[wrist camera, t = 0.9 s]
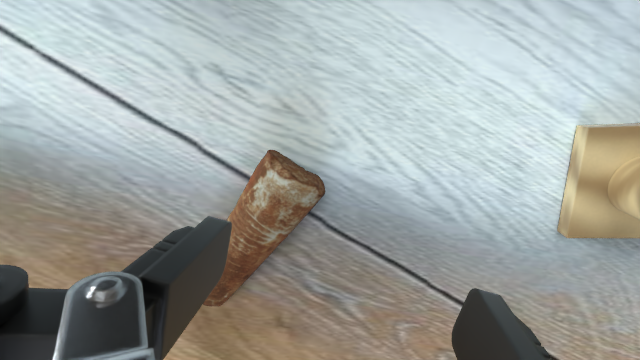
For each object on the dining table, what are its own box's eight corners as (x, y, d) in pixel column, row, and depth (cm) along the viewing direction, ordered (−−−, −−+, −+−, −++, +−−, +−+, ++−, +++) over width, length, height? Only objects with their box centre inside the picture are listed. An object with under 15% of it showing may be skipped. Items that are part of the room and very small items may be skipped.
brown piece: (333, 176, 31) (329, 197, 25) (230, 299, 36) (209, 336, 31) (281, 136, 30) (265, 148, 25) (185, 267, 36) (155, 300, 30)
